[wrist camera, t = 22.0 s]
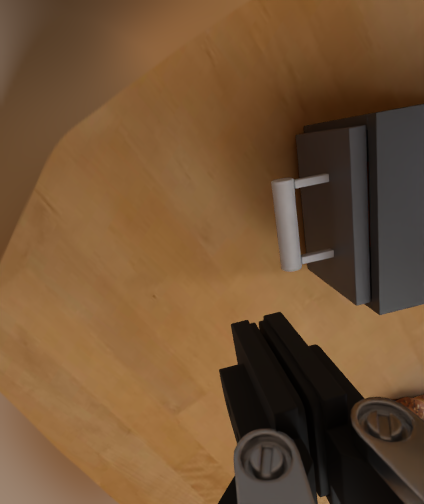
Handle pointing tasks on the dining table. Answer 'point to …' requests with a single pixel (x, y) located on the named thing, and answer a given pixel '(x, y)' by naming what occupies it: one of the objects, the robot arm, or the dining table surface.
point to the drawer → (329, 211)
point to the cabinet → (393, 204)
